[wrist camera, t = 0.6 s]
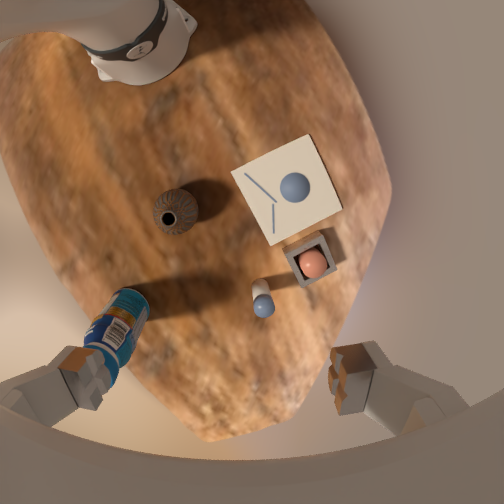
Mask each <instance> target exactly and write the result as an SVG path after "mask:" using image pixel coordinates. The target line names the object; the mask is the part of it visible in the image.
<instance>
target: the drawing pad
mask: <svg viewBox="0 0 504 504" xmlns="http://www.w3.org/2000/svg"><path fill="white" fill-rule="evenodd" d="M231 173H232V175H233V177H234V179H235V181H236V183H237V184H238V186H239V188H240V190H241V192H242V194H243V196H244V197H245V199H246V201H247V203H248V205H249V207H250V209H251V210H252V212H253V214H254V216H255V218H256V220H257V222H258V223H259V225H260V227H261V229H262V231H263V233H264V235H265V237H266V239H267V240H268V242H269V244H270V246H272V245H274V244H276V243H278V242H280V241H282V240H283V239H285V238H287V237H289V236H291V235H293V234H295V233H297V232H299V231H301V230H303V229H305V228H307V227H309V226H311V225H313V224H315V223H317V222H319V221H320V220H322V219H324V218H326V217H328V216H330V215H332V214H334V213H336V212H338V211H340V210H342V207H341V204H340V202H339V199H338V197H337V195H336V192H335V190H334V188H333V185H332V183H331V181H330V178H329V176H328V174H327V172H326V170H325V167H324V165H323V163H322V161H321V159H320V157H319V154H318V152H317V150H316V148H315V146H314V144H313V142H312V140H311V138H310V136H309V134H307V135H305V136H303V137H300V138H298V139H296V140H294V141H292V142H290V143H288V144H285V145H283V146H281V147H279V148H277V149H275V150H273V151H271V152H269V153H267V154H265V155H263V156H261V157H259V158H257V159H255V160H253V161H251V162H249V163H247V164H245V165H243V166H241V167H239V168H237V169H235V170H233V171H232V172H231Z"/></svg>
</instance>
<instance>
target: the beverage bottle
mask: <svg viewBox="0 0 504 504" xmlns="http://www.w3.org/2000/svg"><path fill="white" fill-rule="evenodd" d="M149 312H150V310H149V305H148V302H147V300H146V299H145V298H144V296H143V295H142V294H140V293H139V292H138V291H136V290H133V289H129V288H123V289H120V290H118V291H116V292H115V293H114V294H113V296H112V297H111V299H110V300H109V302H108V303H107V304H106V306H105V307H104V308H103V310H102V311H101V312H100V314H99V315H98V316H97V317H96V318H95V319H94V320H93V322H92V324H91V326H90V328H89V329H88V330H87V332H86V334H85V338H84V346H83V348H90V349H97V350H100V351H101V352H102V353H103V356H104V358H105V361H104V365H105V366H106V367H107V368H108V369H109V372H110V375H111V386H110V388H111V387H112V386H113V385H114V383H115V381H116V378H117V376H118V373H119V368H121V367H123V366H124V365H125V364H127V362H128V361H129V360H130V357H131V354H132V353H133V351H134V350H135V348H136V345H137V340H138V338H139V336H140V333H141V331H142V329H143V327H144V324H145V322H146V321H147V319H148V316H149Z"/></svg>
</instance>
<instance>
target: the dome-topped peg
mask: <svg viewBox="0 0 504 504" xmlns="http://www.w3.org/2000/svg"><path fill="white" fill-rule="evenodd" d="M252 293H253V300H254V302H253V304H254V311H255V314H256V315H257V316H259V317H262V318H266V317H269V316H271V315H272V314H273V313H274V311H275V306H274V302H273V299H272V297H271V293H270V289H269V286H268V283H267V281H266V280H264V279H261V278H260V279H256V280H255V281H253V283H252Z"/></svg>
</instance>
